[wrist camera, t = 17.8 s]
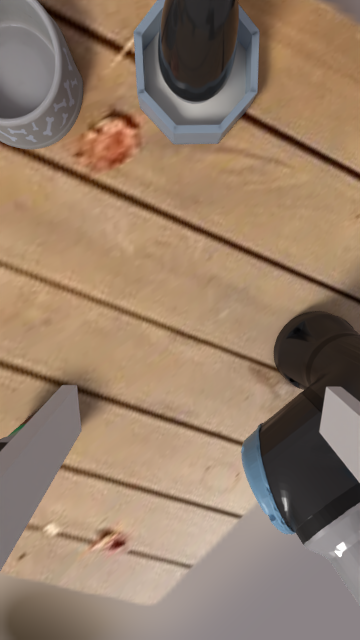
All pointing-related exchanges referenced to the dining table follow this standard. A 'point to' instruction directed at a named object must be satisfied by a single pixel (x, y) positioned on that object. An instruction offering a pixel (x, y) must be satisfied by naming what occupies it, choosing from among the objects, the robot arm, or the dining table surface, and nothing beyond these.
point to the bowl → (203, 118)
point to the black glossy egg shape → (197, 46)
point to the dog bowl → (35, 77)
